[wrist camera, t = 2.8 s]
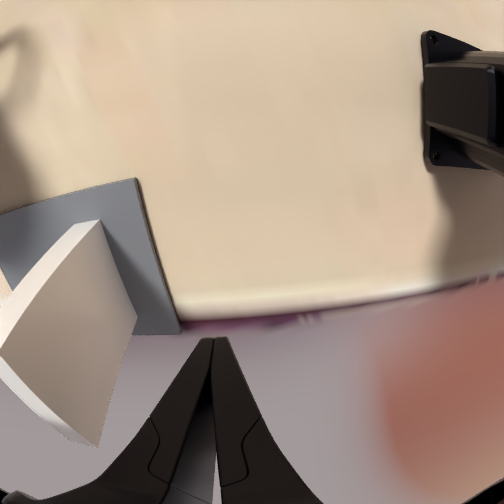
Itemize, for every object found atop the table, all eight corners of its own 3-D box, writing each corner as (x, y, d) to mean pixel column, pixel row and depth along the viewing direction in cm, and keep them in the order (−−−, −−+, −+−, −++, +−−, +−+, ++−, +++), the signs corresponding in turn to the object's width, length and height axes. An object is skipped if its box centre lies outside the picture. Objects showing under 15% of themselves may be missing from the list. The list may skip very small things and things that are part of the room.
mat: (135, 177, 11) (133, 179, 11) (181, 330, 15) (181, 334, 15) (-16, 220, 11) (-19, 223, 11) (38, 328, 16) (36, 330, 15)
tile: (99, 219, 11) (-2, 352, 4) (137, 316, 14) (97, 447, 8) (71, 224, 11) (-28, 345, 5) (112, 317, 14) (66, 439, 8)
